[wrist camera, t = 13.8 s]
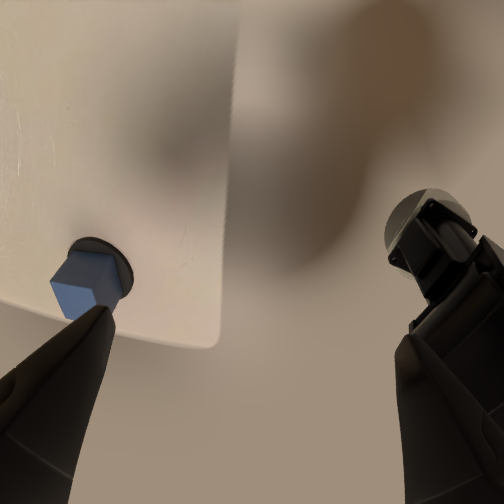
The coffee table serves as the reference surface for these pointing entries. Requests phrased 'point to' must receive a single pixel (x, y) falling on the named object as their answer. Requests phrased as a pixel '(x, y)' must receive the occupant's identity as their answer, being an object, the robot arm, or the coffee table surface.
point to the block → (86, 283)
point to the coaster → (104, 248)
